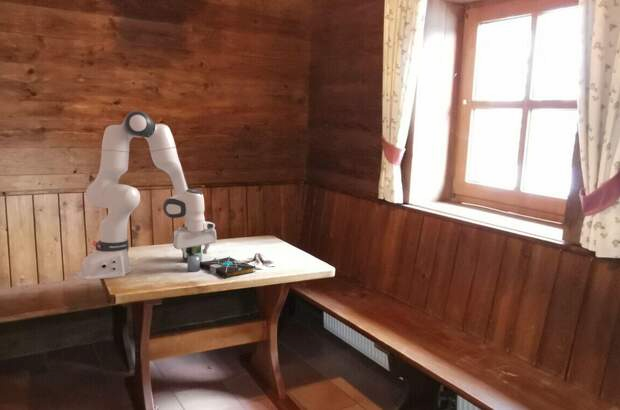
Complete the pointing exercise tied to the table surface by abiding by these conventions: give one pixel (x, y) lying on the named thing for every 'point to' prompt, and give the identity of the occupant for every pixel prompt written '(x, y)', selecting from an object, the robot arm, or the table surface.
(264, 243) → the table surface
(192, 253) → the coffee jar
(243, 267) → the book
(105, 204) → the robot arm
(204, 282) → the table surface
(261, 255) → the cloth
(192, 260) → the grey short cylinder
